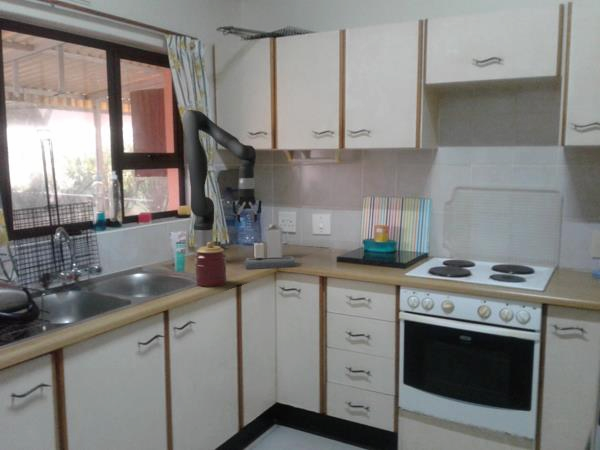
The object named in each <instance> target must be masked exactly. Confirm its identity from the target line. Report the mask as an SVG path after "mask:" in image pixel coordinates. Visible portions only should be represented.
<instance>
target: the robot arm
mask: <svg viewBox="0 0 600 450" xmlns="http://www.w3.org/2000/svg"><path fill="white" fill-rule="evenodd" d="M181 123H182V127H183V132H184V135H185V137H184V138H185V143H186V144H185V145H186V153H187V165H188V173H189V175H188V176H189V184H190V210H191V212H192V214H193V215H194V216H195V217H196V221H195V222H194V225H193V237H194V238H193V239H194V241H193V243H194V256H195V255H197V253H198V252H197V250H198V249H199V248H200V247H203V246H207V243H208V242H212V243H213V244H214V223H215V205H214V201H213V200H212V198H210V197H208V196H206V181H207V177H208V173H209V172H208V170H209V169H208V168H209V167H208V166H209V165H208V157H207V154H206V151H205V149H204V147H203V145H202V142H201V139H200V133H199V131H200V132H203V133H205V134H208V136H210V137H211V138H213V140H214V141H215V142H216V143H217V144H218V145H219V146H221V147H222V148H224V149H225V150H227V151H229V152H230V153H231V154H233V156H234V157H235V158H237V159H238V160H241V165H240V166H239V168H238V186H237V187H238V199H237V200H232V201H231V202H232V204H231V205H232V213H233V214H234V215H236V221H237V222H238V223H239V224H240V223H241V213H242V211H243V210H246V209H247V210H250V209H251V211H252V212H253V222H254V223H257V222H258V214H261V212H262V200H260V199H259V200H258V199H257V200H256V199H255V193H256V190H255V172H254V171H255V170H254V169H255V164H256V158H257V153H256V149H255V147H254V146H253V145H250V144H249V145H248V144H247V145H246V144H245V143H242V142H240V139H239V138H237V137H236V136H234V135H233V134H231V133H230V132H228V131H227V130H225V129H223V128H221V126H219V125H217V124H216V123H215V122H213V121H212V120H211V119H210V118H209V117H208V116H207V115H206V114H205V113H203V112H202V111H200V110H196V109H187V110H186V111H184V112H183V115H182V122H181ZM255 204H256V205H257V209H256V207H254V206H255ZM237 205H239V207H238V210H237V209H236V207H237ZM195 263H196V258H195V257H194V264H195Z"/></svg>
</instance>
